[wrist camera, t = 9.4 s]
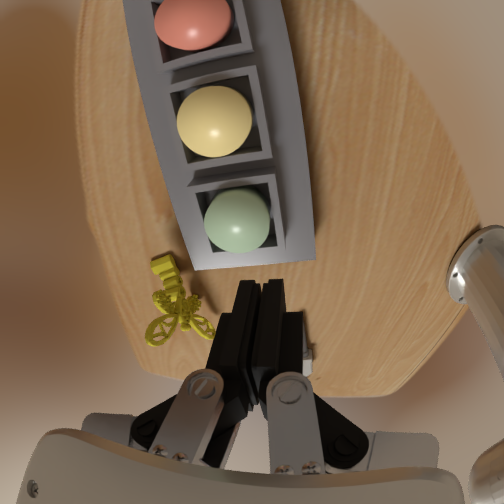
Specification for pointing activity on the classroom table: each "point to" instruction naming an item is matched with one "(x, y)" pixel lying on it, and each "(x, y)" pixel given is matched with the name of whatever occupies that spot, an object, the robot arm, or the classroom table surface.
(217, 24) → the red button
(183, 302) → the decorative insect
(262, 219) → the sage button
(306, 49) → the classroom table surface
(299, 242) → the button panel
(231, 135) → the mustard button
